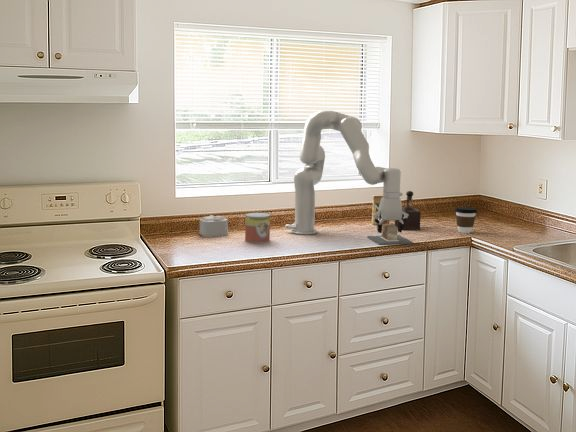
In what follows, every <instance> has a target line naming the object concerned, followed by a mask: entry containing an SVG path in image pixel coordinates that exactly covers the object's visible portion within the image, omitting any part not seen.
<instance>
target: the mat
mask: <svg viewBox="0 0 576 432" xmlns="http://www.w3.org/2000/svg"><path fill="white" fill-rule="evenodd" d="M366 238H367V239H369V240H370V241H372V242H374V243H375V244H377V245H378V246H385V245H386V246H387V245H388V246H389V245H411V244H412V245H413V244H414V242H413V241H411V240H410V239H408V238H405V237H404V236H402V235H400V234H397V240H393V241H388V240H387V239H385V238H383V237H382V235H367V236H366Z"/></svg>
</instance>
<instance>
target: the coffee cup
mask: <svg viewBox="0 0 576 432" xmlns="http://www.w3.org/2000/svg"><path fill="white" fill-rule="evenodd" d="M454 212H455V214H456V215H455V219H456V226H457V231H458V233H459V232H461V233H460V234H471V233H472V231H473V227H474V226H475V222H476V221H475V220H476V215H477V214H478V209H477V208H476V207H473V206H472V207H470V206H457V207H455V209H454ZM470 232H471V233H470Z"/></svg>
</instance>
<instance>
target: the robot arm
mask: <svg viewBox="0 0 576 432" xmlns="http://www.w3.org/2000/svg"><path fill="white" fill-rule="evenodd" d="M303 127H304V128H303V135H302V140H301V146H300V152H299V159H300V162H301V163H303V165H304V167H301V168H299V169H297V170H296V172H295V173H294V177H293V183H294V194H295V195H294V198H295V199H294V201H295V202H294V204H295V205H294V208H295V209H294V222H293V223H291V224H285V225H284V227H285V230H287V229H289V230H291V233H293V234H295V235H304V236H305V235H315V234H317V233H318V229H317V228H315V222H316V221H315V214H316V212H315V211H316V210H315V209H316V193H315V185H317V184H319V183H320V182H321V180H322V177H323V171H324V166H325V159H326V151H325V149H324V148H323V146H321V141H322V140H321V139H322V131H323V130H332V131H333V130H334V131H337V132H340V134H341V136H342V137H343V139H344V141H345V143H346V144H347V146H348V148H349V149H350V152H351V153H352V157H353V159H354V160H353V161H354V163H355V166H356V168H357V170H358V172H359V174H360V175H361V177H362V178H363V179H362V180H364V182H365V183H366V184H368V185H370V186H371V185H372V186H373V185H377V184H381V183H383V187H382V189H383V190H382V195H383V198H381V201H380V206H379V211H378V212H376V213H375V214H373V215H372V214H371V217H372V216H373V218H374V221H375V222H376V223H377V224H378V225H377V224H376V225H377V226H376V227H377V228H376V229H377V230H376V231H377V233H378V234H382V227H383V225H381V223H382V222H383V221H384V220H389V221H395V220H398V221H399V223H398V228H397V233H402V231H403V230H402V229H403V224H404V222H405V221H406V220H407V217H408V216H409V214H407V213H405V212H403V211H402V208H403V204H402V199H401V196H403V192H401V177H402V175H401V173H402V172H401V170H400V169H399V168H396V167H394V168H393V167H388V168H386V167H381V166H375V164H374V163H373V161H372V158H371V156H370V145H369V142H368V140H367V138H366V137H365V135H364V134H363V132H362V127H363V126H362V122H361V121H360V119H358V118H357V117H355V116H351V115H348V114H344V113H341V112H338V111H334V110H321V111H317V112H313V113H312V114H311V115H309V116H308V118H307V119H306V121H305V123H304V126H303ZM402 214H403V215H404V218H402ZM377 216H378V217H379V220H378V219H377Z"/></svg>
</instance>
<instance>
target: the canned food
mask: <svg viewBox="0 0 576 432" xmlns="http://www.w3.org/2000/svg"><path fill="white" fill-rule="evenodd" d="M244 217H245V219H244V221H245V222H244V223H245V224H244V225H245V227H244V228H245V231H244V233H245V236H244V237H245V239H244V241H245V242H246V243H249V244H267V243H269V242H270V241H271V239H270V236H271V233H270V232H271V221H270V220H271V214H269V213H266V212H249V213H245V216H244Z"/></svg>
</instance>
